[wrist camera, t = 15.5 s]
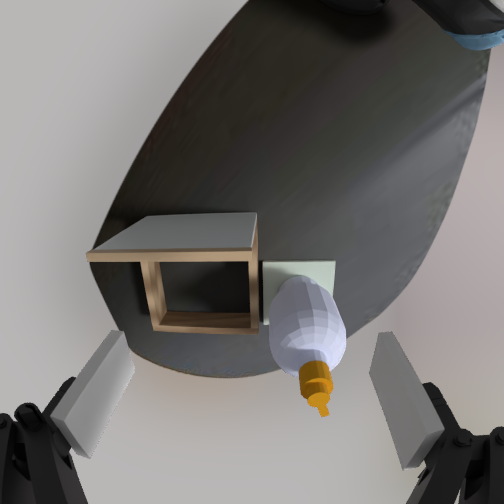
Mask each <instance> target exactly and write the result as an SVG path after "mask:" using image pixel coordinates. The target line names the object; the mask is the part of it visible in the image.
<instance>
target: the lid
mask: <svg viewBox="0 0 504 504" xmlns="http://www.w3.org/2000/svg"><path fill="white" fill-rule="evenodd" d="M256 220H257V212H244V213H207V214H180V215H159V216H146V217H145V218H143V219H141V220H140V221H138V222H136V223H135V224H133V225H132V226H130V227H128V228H127V229H125V230H124V231H122V232H120V233H119V234H117V235H116V236H114V237H113V238H111V239H109V240H108V241H106V242H105V243H103V244H102V245H100V246H99V247H97V248H96V249H94V250H90V251H89V252H87V253H86V257H87V261H88V262H182V261H252V260H253V247H252V246H253V239H254V233H255V226H256Z"/></svg>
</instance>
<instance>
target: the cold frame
mask: <svg viewBox="0 0 504 504" xmlns="http://www.w3.org/2000/svg"><path fill="white" fill-rule="evenodd" d="M252 247H253V260H252V261H249V288H250V313H209V312H176V311H167V308H166V303H165V297H164V291H163V285H162V278H161V272H160V265H159V262H141V268H142V274H143V279H144V285H145V290H146V296H147V301H148V306H149V311H150V316H151V320H152V325H153V329H154V331H167V332H185V333H210V334H258V333H259V282H258V240H257V220H256V226H255V233H254V239H253V246H252Z"/></svg>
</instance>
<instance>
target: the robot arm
mask: <svg viewBox="0 0 504 504" xmlns="http://www.w3.org/2000/svg"><path fill="white" fill-rule="evenodd" d="M320 1H321V2H323V3H324V4H326V5H327V6H329V7H331V8H333V9H335V10H338V11H341V12H344V13H348V14H353V15H369V14H373V13H376V12H378V11H380V10H381V9H382V8H383V7H384V6H385V5H386V4H387V3H388V2H389V0H320ZM412 1H413V2H414V3H416V4H417V5H418V6H419V7H420V8H421V9H423V10H424V11H425V12H426V13H427V14H428V15H429V16H430V17H431V18H432V19H434V20H435V21H436V22H437V23H438V24H439V25H440V27H441V28H442V29H443V30H444V31H445V32H446V33H448V34H450V35H451V36H452V37H453V38H454V39H455V40H456V41H457V42H458V43H459V44H460V45H461V46H463V47H465V48H467V49H471V50H484V49H489V48H492V47H495V46H498V45H500V44H502V43H503V41H504V0H412ZM134 372H135V367H134V364H133V361H132V358H131V354H130V351H129V348H128V344H127V341H126V338H125V334H124V331H115V330H112V331H111V332H110V333H109V334H108V336H107V337H106V338H105V340H104V341H103V342H102V344H101V345H100V346H99V348H98V349H97V350H96V352H95V353H94V354H93V356H92V357H91V359H90V360H89V361H88V362H87V364H86V365H85V367H84V368H83V369H82V371H81V372H80V373H79V375H78V376H77V378H76V377H71V378H69V379H68V380H67V381H65V382H64V383H63V384H62V386H61V387H60V388H59V391H57V393H56V394H55V396H54V397H53V398H52V400H51V401H50V402H49V404H48V405H47V407H46V408H45V410H44V411H43V412H42V413H41V412H40V410H39V409H38V407H37V406H36V405H35V404H33V403H24V404H22V405H20V406H19V407H18V408H17V409H16V411H15V413H14V417H15V418H16V420H17V421H18V422H15V421H13V420H12V419H11V417H10V416H9V415H8V414H5V413H1V414H0V504H88V502H87V499H86V497H85V495H84V492H83V489H82V486H81V484H80V481H79V478H78V476H77V472H76V469H75V467H74V463H73V460H72V456H71V455H70V453H69V451H70V449H71V447H72V448H73V450H74V451H75V452H76V454H78V455H81V456H83V457H86V458H89V459H90V458H91V456H92V454H93V452H94V450H95V448H96V446H97V444H98V442H99V440H100V438H101V436H102V434H103V432H104V430H105V428H106V426H107V424H108V422H109V420H110V418H111V416H112V414H113V412H114V410H115V408H116V406H117V404H118V402H119V401H120V399H121V396H122V395H123V393H124V391H125V389H126V387H127V385H128V383H129V381H130V380H131V378H132V376H133V374H134ZM369 374H370V377H371V380H372V382H373V385H374V388H375V390H376V393H377V396H378V398H379V401H380V404H381V406H382V410H383V412H384V415H385V417H386V421H387V424H388V427H389V430H390V432H391V435H392V438H393V441H394V444H395V447H396V450H397V454H398V457H399V460H400V463H401V466H402V469H403V471H405V470H408V469H412V468H416V467H419V466H420V464H421V463H422V462H423V460H424V461H425V463H426V468H425V469H424V470H423V471H422V472H421V474H420V475H419V476H418V478H419V480H418V482H417V484H416V486H415V488H414V490H413V492H412V494H411V496H410V497H409V499H408V501H407V503H406V504H454V503H455V500H456V498H457V495H458V493H459V490H460V496H459V503H458V504H504V427H502V426H501V427H496V428H495V429H493V431H492V432H491V433H490V435H479V436H475V435H473V434H472V433H471V432H470V431H468V430H466V429H461V428H460V427H459V425H458V423H457V421H456V419H455V417H454V415H453V414H452V412H451V410H450V408H449V406H448V405H447V403H446V401H445V399H444V398H443V395H442V394H441V392H440V390H439V388H437V387H436V386H435V385H434V384H433V383H431V382H429V383H424V384H422V383H421V382H420V380H419V378H418V376H417V374H416V372H415V371H414V369H413V367H412V365H411V363H410V362H409V360H408V358H407V356H406V355H405V353H404V351H403V349H402V348H401V346H400V344H399V342H398V341H397V339H396V337H395V336H394V334H393V332H382V333H379V334H378V338H377V343H376V348H375V351H374V356H373V360H372V364H371V367H370V372H369ZM460 488H461V489H460Z"/></svg>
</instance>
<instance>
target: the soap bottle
mask: <svg viewBox="0 0 504 504" xmlns="http://www.w3.org/2000/svg"><path fill="white" fill-rule="evenodd" d="M269 344H270V348H271V353H272V356H273V358H274V360H275V361H276V362H277V364H278V365H279V366H280V367H281V368H282V370H283V371H284V372H286V373H288V374H290V375H292V376H294V377H299V381H300V390H301V395H302V396H303V397H304V398H306V399H307V401H308V404H309V405H310V406H312V407H317V408H318V410H319V413H320V415H321V417H324V416H328V415H329V411H328V409H327V406H326V404H327V403H328V402H329V400H330V395H329V394H330V393H331V392H332V390H333V382H332V378H331V374H330V371H331V370H332V369H333V368H334V367H335V366H336V365H337V364H339V362H340V360H341V358H342V355H343V354H344V351H345V349H346V329H345V327H344V324H343V322H342V319H341V316H340V314H339V311H338V309H337V306H336V304H335V302H334V300H333V298H332V296H331V295H330V293H329V291H327V290H326V289H324V288H323V287H321V286H320V285H318V284H317V282H315V281H314V280H312V279H311V278H309V277H304V276H297V277H292V278H290V279H288V280H287V281H285V282H284V283H283V284H282V286H281V287H280V288H279V291H278V294H277V296H276V297H275V298H274V299H273V300H272V303H271V307H270V311H269Z"/></svg>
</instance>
